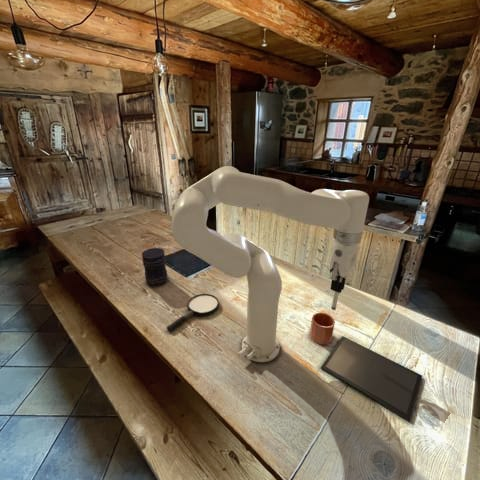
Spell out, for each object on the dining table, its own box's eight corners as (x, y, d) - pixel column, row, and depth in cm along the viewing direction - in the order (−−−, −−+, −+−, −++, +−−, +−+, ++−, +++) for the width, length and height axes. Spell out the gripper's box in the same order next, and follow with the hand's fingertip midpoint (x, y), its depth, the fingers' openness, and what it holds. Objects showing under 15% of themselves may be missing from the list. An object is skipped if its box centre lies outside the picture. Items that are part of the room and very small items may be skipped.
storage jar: (157, 273, 132) (153, 246, 125) (172, 279, 127) (169, 251, 121) (141, 282, 124) (136, 254, 118) (156, 289, 119) (152, 260, 113)
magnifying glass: (157, 324, 99) (157, 319, 98) (202, 293, 116) (202, 289, 115) (180, 339, 92) (180, 334, 91) (224, 304, 110) (224, 300, 109)
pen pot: (326, 348, 89) (329, 330, 86) (305, 337, 93) (308, 320, 90) (335, 335, 94) (338, 319, 91) (315, 325, 99) (318, 309, 96)
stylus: (334, 310, 84) (341, 275, 79) (330, 308, 85) (336, 274, 80) (336, 308, 85) (342, 273, 80) (332, 306, 86) (338, 272, 81)
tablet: (409, 421, 67) (410, 419, 67) (320, 368, 82) (321, 366, 81) (421, 377, 79) (422, 375, 79) (342, 337, 93) (342, 335, 93)
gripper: (350, 248, 67) (339, 306, 75) (369, 230, 78) (357, 283, 86) (322, 240, 71) (314, 296, 79) (343, 224, 82) (334, 275, 90)
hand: (337, 289), depth 82 cm, fingers closed on stylus, 1 cm apart
